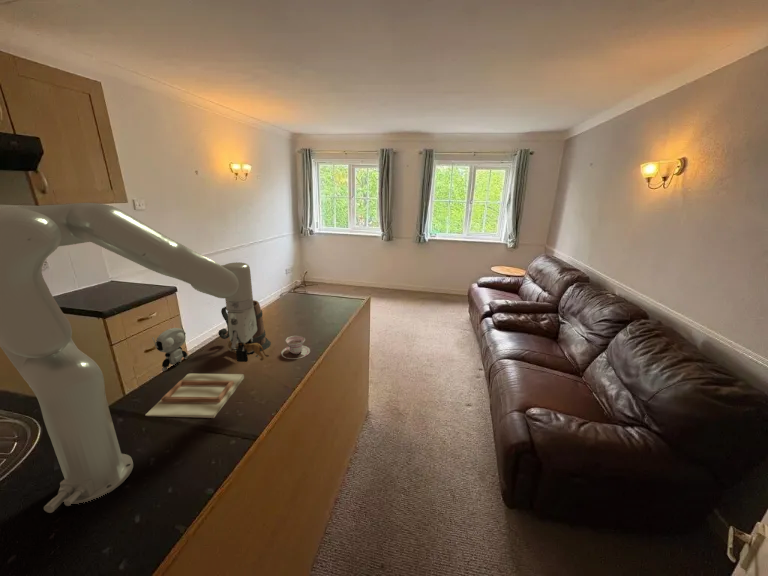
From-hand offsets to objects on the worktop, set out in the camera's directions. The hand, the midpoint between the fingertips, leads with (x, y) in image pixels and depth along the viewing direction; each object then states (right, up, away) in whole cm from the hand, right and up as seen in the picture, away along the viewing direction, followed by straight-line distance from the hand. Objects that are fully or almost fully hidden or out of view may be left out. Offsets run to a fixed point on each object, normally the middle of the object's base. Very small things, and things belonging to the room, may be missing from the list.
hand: (245, 357), depth 99 cm
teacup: (+6, -6, +34) cm, 35 cm away
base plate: (-17, -14, +4) cm, 22 cm away
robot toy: (-36, -8, +22) cm, 43 cm away
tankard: (-18, -4, +39) cm, 43 cm away
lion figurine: (+1, -1, +1) cm, 2 cm away
